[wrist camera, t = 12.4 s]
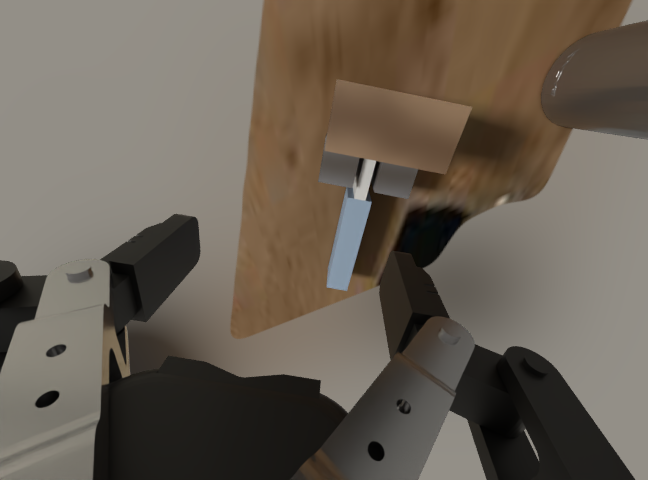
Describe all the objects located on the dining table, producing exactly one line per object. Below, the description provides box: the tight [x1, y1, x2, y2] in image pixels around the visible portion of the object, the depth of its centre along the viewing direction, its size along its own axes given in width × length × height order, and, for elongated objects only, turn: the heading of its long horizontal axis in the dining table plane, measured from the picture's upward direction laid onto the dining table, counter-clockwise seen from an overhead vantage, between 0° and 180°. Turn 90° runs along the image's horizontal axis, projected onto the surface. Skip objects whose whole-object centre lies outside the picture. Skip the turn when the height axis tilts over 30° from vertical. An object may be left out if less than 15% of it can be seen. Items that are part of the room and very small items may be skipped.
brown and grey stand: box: [318, 79, 472, 199], centre depth 28 cm, size 10×11×14 cm
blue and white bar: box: [327, 158, 376, 291], centre depth 37 cm, size 19×3×5 cm, turn 170°
